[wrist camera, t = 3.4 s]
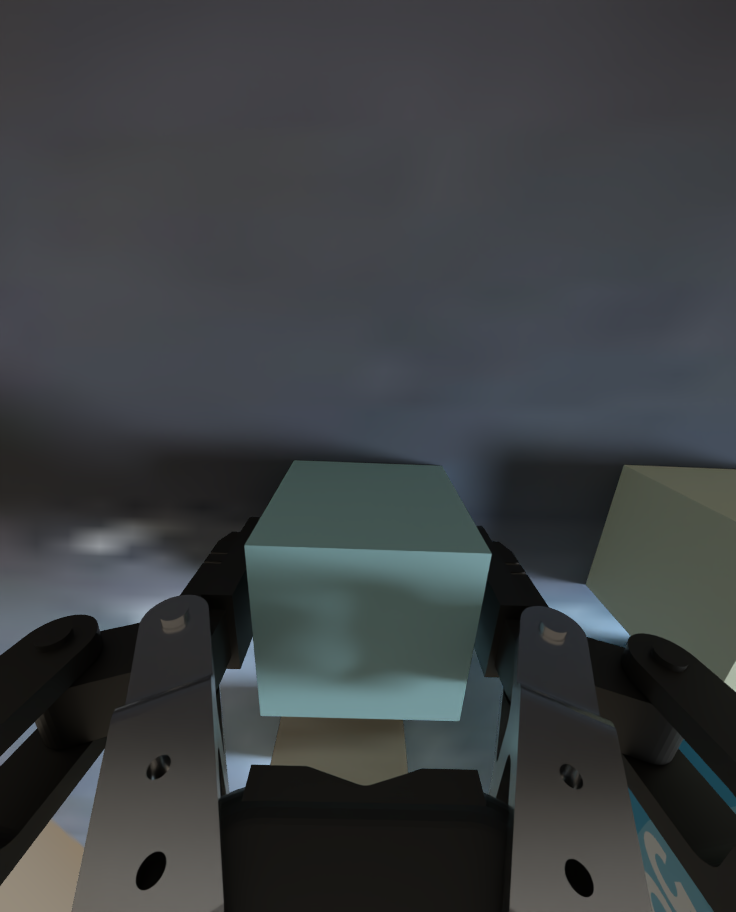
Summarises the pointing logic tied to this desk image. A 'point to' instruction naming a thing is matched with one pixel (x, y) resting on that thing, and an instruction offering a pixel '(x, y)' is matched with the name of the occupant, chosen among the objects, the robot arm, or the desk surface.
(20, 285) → the desk surface
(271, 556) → the teal block
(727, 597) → the sage block
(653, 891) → the data package
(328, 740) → the maple block
